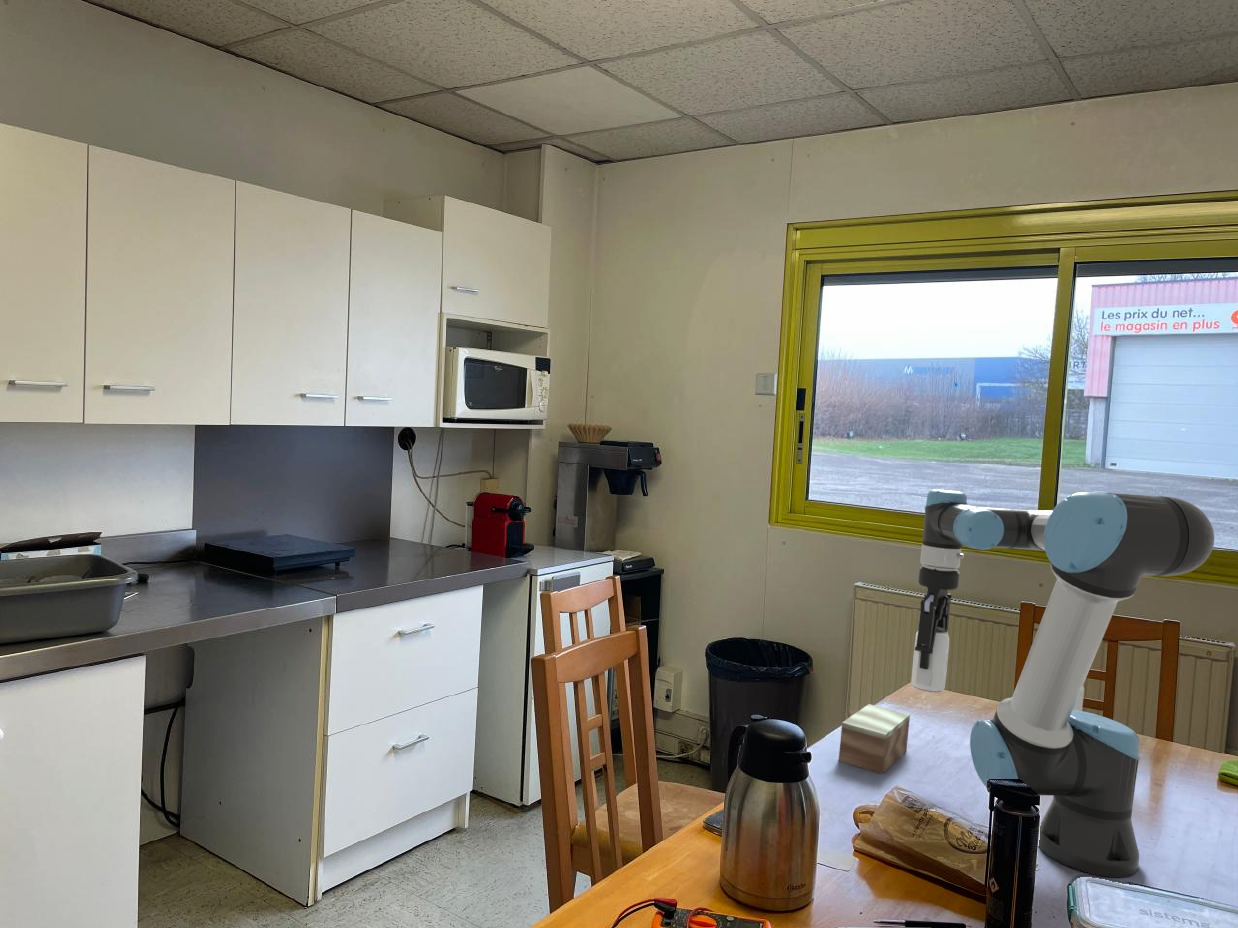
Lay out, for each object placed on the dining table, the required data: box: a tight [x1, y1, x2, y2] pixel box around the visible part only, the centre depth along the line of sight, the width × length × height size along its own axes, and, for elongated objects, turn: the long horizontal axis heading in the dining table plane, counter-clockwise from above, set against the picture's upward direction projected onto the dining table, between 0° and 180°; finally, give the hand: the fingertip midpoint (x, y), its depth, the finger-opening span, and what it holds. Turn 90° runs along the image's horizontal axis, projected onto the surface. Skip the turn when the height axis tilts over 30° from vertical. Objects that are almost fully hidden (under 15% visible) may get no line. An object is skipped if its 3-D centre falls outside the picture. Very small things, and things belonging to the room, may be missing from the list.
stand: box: [838, 703, 911, 774], centre depth 188 cm, size 16×9×8 cm, turn 145°
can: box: [910, 627, 950, 693], centre depth 181 cm, size 6×6×12 cm
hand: (928, 680), depth 181 cm, fingers closed on can, 6 cm apart
